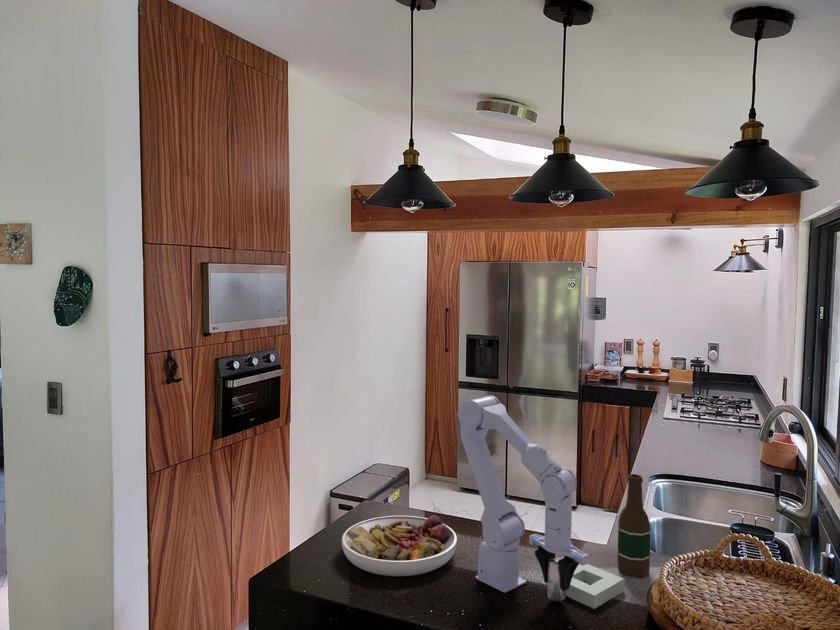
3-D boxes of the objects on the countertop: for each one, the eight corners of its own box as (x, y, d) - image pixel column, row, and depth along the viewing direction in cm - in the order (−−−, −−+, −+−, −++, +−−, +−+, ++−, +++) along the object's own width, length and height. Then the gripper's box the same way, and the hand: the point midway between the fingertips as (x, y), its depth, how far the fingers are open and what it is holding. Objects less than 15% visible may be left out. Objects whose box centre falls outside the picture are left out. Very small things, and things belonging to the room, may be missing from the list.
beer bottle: (653, 569, 153) (655, 474, 152) (645, 581, 146) (647, 482, 145) (621, 561, 157) (623, 469, 156) (612, 573, 151) (614, 476, 150)
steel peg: (543, 595, 136) (544, 560, 136) (554, 589, 139) (555, 555, 139) (558, 602, 133) (559, 566, 133) (569, 596, 136) (570, 561, 136)
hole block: (549, 588, 143) (549, 575, 142) (579, 573, 150) (579, 561, 150) (594, 608, 134) (594, 595, 133) (623, 591, 141) (624, 578, 141)
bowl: (389, 595, 140) (389, 561, 139) (319, 551, 162) (319, 522, 162) (480, 558, 159) (481, 528, 159) (407, 524, 182) (407, 498, 181)
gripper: (596, 530, 133) (595, 592, 133) (542, 511, 144) (541, 568, 144) (577, 539, 128) (576, 602, 129) (523, 518, 139) (522, 577, 140)
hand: (556, 585), depth 136 cm, fingers closed on steel peg, 4 cm apart
